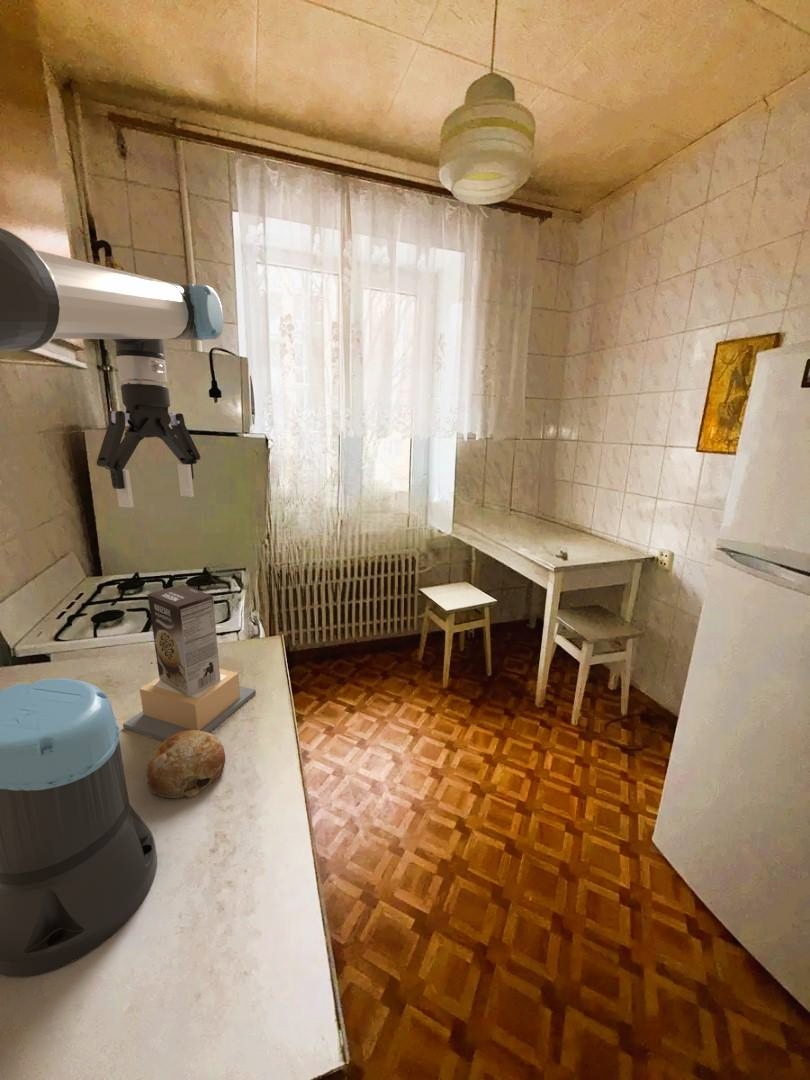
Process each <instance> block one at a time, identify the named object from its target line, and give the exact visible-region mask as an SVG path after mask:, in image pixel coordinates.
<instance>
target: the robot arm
mask: <svg viewBox="0 0 810 1080" xmlns="http://www.w3.org/2000/svg"><path fill="white" fill-rule="evenodd" d="M224 320H225V319H224V312H223V307H222V303H221V301H220V297H219V296H218V294H217V292H216V291H215V290H214V289H213V288H212V287H210V286H209V285H206V284H195V283H194V282H193V283H192V282H189V283H175V282H170V281H166V280H160V279H157V278H153V277H149V276H145V275H141V274H137V273H133V272H129V271H123V270H120V269H116V268H112V267H109V266H103V265H100V264H96V263H90V262H87V261H83V260H78V259H76V258H71V257H66V256H62V255H59V254H54V253H51V252H45V251H41V250H37V249H35V248H33V246H31V244H29V242H27V241H26V240H24V239H22V238H21V237H20V236H18V235H17V234H15V233H13V232H12V231H9V230H7V229H4V228H2V227H0V353H4V352H5V353H7V352H25V351H26V352H28V351H34V350H37V349H41V348H43V347H44V346H47V345H48V344H49V343H50V342H51V341H52V340H57V339H58V340H61V339H62V340H65V339H66V340H77V339H78V340H105V341H109V342H113V343H114V347H115V355H116V364H117V370H118V371H117V373H118V378H119V381H120V382H123V383H122V384H121V386H120V391H121V399H122V400H121V401H122V404H123V406H124V407H125V412H124V411H123V410H109V411H108V413H107V418H108V425H107V428H106V432H105V433H104V434H105V435H104V438H103V439H102V440H103V441H102V443H101V446H100V450H99V453H98V455H97V456H98V457H97V459H96V466H98V467H101V468H105V470H109V472H110V478H111V486H112V487H113V489H115V490H116V493H117V494H116V495H117V501H118V507H120V508H135V505H134V503H135V502H134V497H133V491H132V490H133V489H132V482H131V476H130V470H129V469H125V467H126V465H127V464H128V462H129V460H130V459H131V457H132V455H133V454H134V452H135V450H136V449H137V448H138V445H139V444H140V443H141V441H142V440H144V439H145V438H159V439H160V440H162V441H163V443H164V444H165V445H166V447H167V448H168V449H169V450H170V451H171V453H172V454H173V455H174V456H175V457H176V458H177V459H178V461H179V462H180V463H177V466H176V467H177V473H178V481H179V482H178V483H179V491H180V492H179V493H180V497H187V498H188V497H189V498H192V497H195V494H194V485H193V480H194V478H195V476H194V467H193V465H197V463H198V461H200V460H201V454H200V453H199V451H198V449H197V446H196V445H195V442H194V440H193V438H192V437H191V434H190V432H189V430H188V427H186V422H185V417H184V415H183V413H180V412H176V413H175V412H173V413H169V408H170V406H171V400H170V399H171V398H170V390H169V388H168V386H165V385H166V384H167V383H168V374H167V363H166V356H165V349H164V348H165V347H164V340H184V341H185V340H186V341H187V340H189V341H190V340H191V341H203V340H205V341H206V340H216V339H218V338H219V337H221V335H222V333H223V331H224ZM127 423H128V425H129V426H128V427H127V429H126V431H125V428H126V424H127ZM123 436H124V437H123ZM121 750H122V748H121V741H120V726H119V724H118V721H117V718H116V716H115V714H114V711H113V707H112V703H111V701H110V699H109V698H108V696H107V694H106V693H105V692H104V691H103V690H102V689H100V688H99V687H98V686H96V685H94V684H92V683H89V682H87V681H84V680H79V679H72V678H44V679H43V678H42V679H38V680H36V681H35V682H34V683H32V684H27V683H25V682H22V683H18V684H14V685H11V686H8V687H5V688H2V689H0V974H1V975H4V976H8V977H20V978H22V977H31V976H32V977H33V976H36V975H42V974H45V973H47V972H51V971H54V970H57V969H59V968H62V967H64V966H66V965H69V964H70V963H73V962H74V961H76V960H78V959H80V958H82V957H83V956H86V955H87V954H89V952H91V951H93V950H95V949H96V948H97V947H99V946H100V945H101V944H103V943H104V942H105V941H107V940H108V939H109V938H110V937H112V935H114V934H115V933H116V932H117V931H118V930H119V929H120V928H122V926H123V925H124V924H125V923H126V922H127V921H128V920H129V919H130V918H131V917H132V916H133V914H134V913H135V912H136V911H137V910H138V908H139V907H140V906H141V904H142V903H143V901H144V900H145V898H146V896H147V894H148V893H149V891H150V889H151V887H152V884H153V882H154V879H155V876H156V873H157V868H158V854H157V846H156V842H155V838H154V835H153V832H152V831H151V829H150V828H149V826H148V825H147V824H146V823H145V821H144V820H143V819H142V818H141V816H140V815H139V814H138V812H137V811H136V810H135V809H134V808H133V806H132V805H131V804H130V799H129V794H128V788H127V783H126V773H125V769H124V763H123V762H124V761H123V755H122V751H121Z"/></svg>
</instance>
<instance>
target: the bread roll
mask: <svg viewBox="0 0 810 1080" xmlns="http://www.w3.org/2000/svg"><path fill="white" fill-rule="evenodd" d="M225 764H226V753H225V748H224V745H223V743H222V741H220V739H219V738H218V737H216V736H215V735H214V734H212V733H211V732H209V733H208V732H204V731H198V730H188V731H182V732H179V733H176V734H174V735H172V736H170V737H169V738H167V739H166V740H165V741H162V742H161V743H159V744H158V747H157V749H156V750H155V751H154V752H153V754H152V756H151V758H150V759H149V762H148V764H147V768H146V776H147V786H148V788H149V789H150V791H151V792H152V794H155V795H156V796H159V797H162V798H163V797H164V798H166V799H167V798H168V799H181V798H184V797H187V798H188V799H189V798H192V797H196V795H198V794H199V793H201V791H202V790H204V789H206V788H207V787H208V786H209V785H210V784H212V783H213V781H215V780H216V779H218V778H219V777H220V776H221V774H222V772H223V770H224V768H225Z"/></svg>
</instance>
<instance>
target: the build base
mask: <svg viewBox="0 0 810 1080" xmlns="http://www.w3.org/2000/svg"><path fill="white" fill-rule="evenodd" d="M219 671H220V681H219V682H217V683H215V684H213V685H211V686H209V687H207V688H205V689H203V690H201V691H199V692H197V693H195V694H193V695H191V696H189V697H187V696H186V695H184V694H182V693H181V692H179V691H178V690H176V689H174V688H173V687H171V686H169V685H168V684H166V683H164V682H163V681H161V680H160V678H159V676H158V677H157V678H155V679H153V680H151V681H150V682H148V683H147V684H145V685H143V686H141V687H140V688H139V695H140V700H141V706H142V707H141V708H142V711H140V712H139V713H137V714H135V715H134V716H133V717H131V718H130V719H128V720H126V721H125V722H123V723H122V725H123V729H126V730H128V731H131V732H134V733H138V734H141V735H143V736H147V737H150V738H151V739H152V738H153V739H155V740H158V741H162V742H164V741H165V740H166V739H167V738H169V737H170V736H172V735H174V734H176V733H179V732H182V731H188V730H198V731H204V732H208V733H211V732H212V731H213V730H214V729H215V728H217V727H218V726H219V725H220V724H222V723H223V722H224V721H225V720H226V719H227V718H228V717H230V716H231V715H232V714H233V713H235V712H236V711H237V710H238V709H239V708H241V707H242V706H243V705H244V704H245V703H246V702H248V701H249V700H250V699H251V698H253V697H254V696H255V695H256V694H257V692H256V689H254V688H251V687H247V686H242V685H240V678H239V672H236V671H235V672H234V671H232V670H231V671H230V670H227V669H223V668H219Z"/></svg>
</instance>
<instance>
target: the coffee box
mask: <svg viewBox="0 0 810 1080" xmlns="http://www.w3.org/2000/svg"><path fill="white" fill-rule="evenodd" d="M147 601H148V605H149V614H150V621H151V628H152V635H153V636H152V637H153V641H154V643H153V644H154V649H155V650H154V651H155V657H156V665H157V670H158V677H159V678H160V680H161V681H163V682H164V683H166V684H168V685H169V686H171V687H173V688H174V689H176V690H178V691H179V692H181V693H182V694H184V695H186V696H187V697H189V696H191V695H193V694H195V693H197V692H199V691H201V690H203V689H205V688H207V687H209V686H211V685H213V684H215V683H217V682H219V681H220V671H219V669H220V662H219V649H218V640H217V639H218V637H217V626H216V616H215V615H216V614H215V603H214V596H213V595H212V594H209V593H206V592H204V591H201V590H199V589H196V588H193V587H190V586H188V585H185V584H180V585H177V586H174V587H167V588H164V589H161V590H156V591H153V592H151V593H148V594H147Z"/></svg>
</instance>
